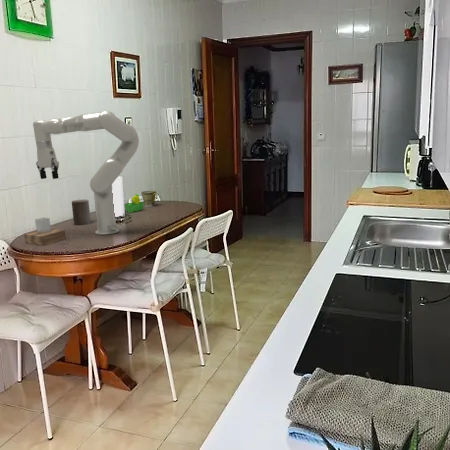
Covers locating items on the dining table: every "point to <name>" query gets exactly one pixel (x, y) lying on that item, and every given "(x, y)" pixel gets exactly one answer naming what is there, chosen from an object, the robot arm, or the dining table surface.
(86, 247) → the dining table surface
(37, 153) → the robot arm
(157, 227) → the dining table surface
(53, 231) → the walnut block
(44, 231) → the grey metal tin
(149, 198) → the ceramic cup
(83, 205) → the pillar candle
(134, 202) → the fruit basket
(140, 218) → the dining table surface
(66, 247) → the dining table surface
